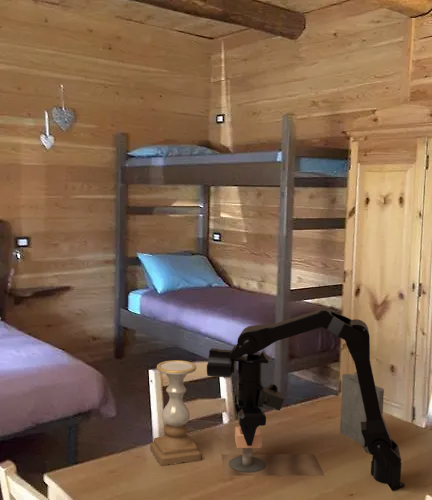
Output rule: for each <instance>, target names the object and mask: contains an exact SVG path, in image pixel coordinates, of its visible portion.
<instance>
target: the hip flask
mask: <svg viewBox="0 0 432 500" xmlns="http://www.w3.org/2000/svg"><path fill="white" fill-rule="evenodd" d="M341 378H342V379H341V381H342V382H341V397H340V399H341V403H340V422H339V423H340V424H339V425H340V426H339V434H340V435H341V434H342V435H343V434H344V435H345V436H347V437H348V438H350V439H351V440H352V441H355V442H356V443H358V444H360V446H361V447H362V448H363V449H364V451H365V453H367V454H370V453H369V451H368V448H367V447H364V439H363V435H362V432H361V423H360V422H366V414H365V410H364V405H363V400H362V395H361V391H360V386H359V381H358V376H357V372H356V371H355V372H354V373H353V374H351V373H344V374H342V377H341ZM375 387H376V392H377V397H378V401H379V406H380V411H381V414H382V416H383V417H384V415H383V412H384V394H385V393H384V391H385V390H384V388H382V387H380V386H376V385H375Z"/></svg>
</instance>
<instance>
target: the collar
mask: <svg viewBox="0 0 432 500" xmlns="http://www.w3.org/2000/svg"><path fill="white" fill-rule="evenodd" d="M262 440H263V436H262V431H261V429H260V426H258V427H257V429H256V432H255V436H254V439H253V443H252V445H251V446H247V443H246V441H245V438H244V435H243V433H242V430H241V427H240V426H234V441H235V446H236V448H237V449H243V448H252V449H262V445H263V444H262V443H263V442H262Z"/></svg>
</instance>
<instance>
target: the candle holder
mask: <svg viewBox="0 0 432 500" xmlns="http://www.w3.org/2000/svg"><path fill="white" fill-rule="evenodd" d="M156 370H157V371H158V372H159V373H161V374H165V376H166V377H167V378H168V381H169V384H168V386H167V387H166V389H165V391H166V393H167V395H168V397H169V399H168V402H167V404H166V405H165V407H164V408H163V410H162V412H161V420H162V421H163V422H164V424H165V426H164V427H163V432H164V435H163V436H158V437H154V438H153V441H151V442H150V444H149V446H150V447H149V450H151V451H150V452H151V454H152V453H153V454H152V455H153V457H154V456H155V457H154V458H155V460H156V459H157V460H156V462H159V463H160V464H159V463H158V464H159V465H160V466H161V465H165V466H169V465H168V464H173V465H175V464H174V463H180V464H183V463H182V462H187V463H191V462H190V461H195V462H199V461H198V460H200V461H201V460H202V452H201V451H200V450H199V449H198V445H197V444H196V442H195V441H194V440H193V439H192V438H191V437H190V436H189V435H188V434H187V433H188V426H187V425H186V424H187V423H188V422H189V421H190V419H191V418H190V417H191V413H190V411H189V408H188V407H187V405H186V404H185V402H184V399H183V397H184V394H185V393H186V392H187V388H186V387H185V384H184V380H185V378H186V376H187V375H189V374H192V373H194V372H195V371H196V370H197V365H196V364H195V363H194V362H191V361H187V360H181V359H178V360H177V359H176V360H174V359H173V360H165V361H161V362H159V363H158V364H156Z"/></svg>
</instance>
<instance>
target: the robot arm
mask: <svg viewBox="0 0 432 500" xmlns="http://www.w3.org/2000/svg"><path fill="white" fill-rule="evenodd" d="M320 328H323V329H326V331H328V332H330V333H331V334H333V335H335V336H336V337H337V338H339V339H342V340H343V341H345V345H346V347H347V349H348V352H349V354H350V356H351V358H352V361H353V363H354V365H355V370H356V371H355V372H357V376H358V381H359V386H360V391H361V395H362V400H363V405H364V410H365V414H366V422H360V423H361V432H362V435H363V439H364V447H367V448H368V451H369V453H368V454H371V455H372V460H371V462H370V463H371V464H370V475H371V476H372V477H373V479H374V480H375V481H376V482H378V483H381V484H384V485H385V484H386V485H388V487H389V489H390V490H391V491H395V490H397V489H401V488H403V487H405V485H406V484H405V483H404V482H402V481H401V476H402V458H401V456H402V455H401V452H400V447H399V444H397V443H396V441H394V440H393V438H392V437H391V432H390V429H389V427H388V425H387V421H386V420H385V418H384V415H383V416H382V414H381V411H380V406H379V401H378V397H377V392H376V387H375V386H376V384H375V383H376V382H375V378H374V373H373V369H372V364H371V363H372V362H371V360H370V359H371V350H370V349H371V347H370V346H371V344H370V343H371V342H370V333H369V332H370V331H369V327H368V325H367V323H366V322H365V321H363V320H361V319H356V318H355V319H351V318H349V317H347V316H345V315H342V314H339V313H337V312H335V311H332V310H330V309H329V308H327V307H321V308H319V309H316V310H314V311H311V312H308V313H305V314H301V315H297V316H296V317H292V318H288V319H285V320H282V321H279V322H276V323H271V324H257V325H256V324H255V325H249V326H247V327H244V328H243V330H242V331H241V332H240V334H239V336H238V338H237V344H234V346H233V347H232V349H219V348H214V347H212V348H210V349H209V351H208V352H209V353H208V359H207V364H206V374H207V377H212V378H213V377H215V378H228V379H229V378H231V377H232V376H233V375H235V374H236V373H237V380H236V386H237V389H236V390H235V391H234V392H233V402H234V409H235V411H236V415H237V421H238V425H239V427H241V430H242V433H243V435H244V438H245V441H246V443H247V446H251V445H252V443H253V439H254V436H255V432H256V429H257V427H260V426H261V427H262V426H266V424H267V416H266V414H265V411H264V410H262V408H263V407H264V405H265V406H268V407H271V408H273V409H275V410H276V411H281V409H282V407H283V404H284V401H285V396H284V394H283V393H281V391H278V390H279V389H278V385H277V384H274V383H270V384H269V385H268V386H264V385H263V384H262V369H263V368H262V366H263V364H269V363H270V360H271V358H270V356H269V355H268V354H267V353H266V352H265V351H264V349H266V348H268V347H269V346H271V345H272V344H274V343H276V342H278V341H281V340H285V339H287V338H291V337H294V336H297V335H301V334H305V333H308V332H311V331H314V330H318V329H320ZM260 351H261V352H260ZM258 352H260V353H258ZM237 362H238V363H237ZM237 364H238V365H237ZM237 368H238V369H237Z"/></svg>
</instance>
